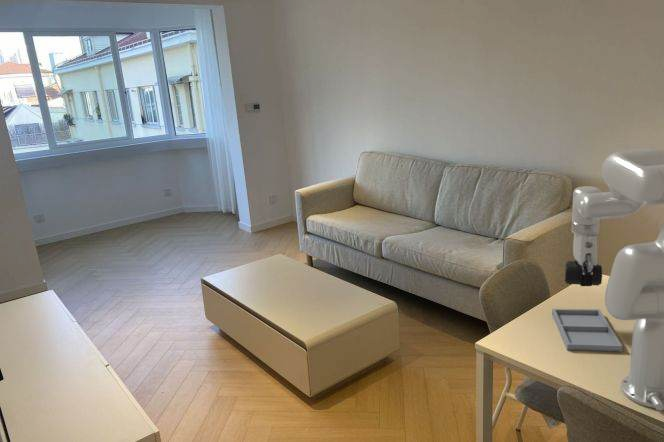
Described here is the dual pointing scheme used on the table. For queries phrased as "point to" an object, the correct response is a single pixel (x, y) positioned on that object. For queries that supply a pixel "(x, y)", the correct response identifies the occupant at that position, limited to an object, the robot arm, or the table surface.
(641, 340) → the robot arm
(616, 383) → the table surface
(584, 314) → the divided grey tray
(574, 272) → the end cap
